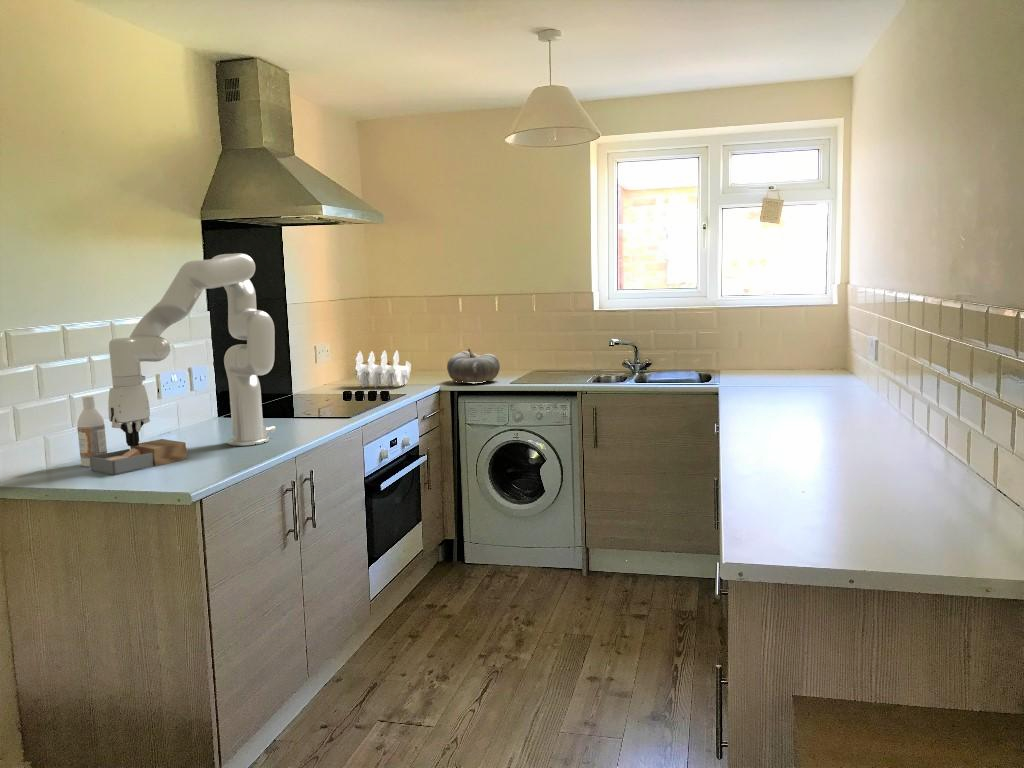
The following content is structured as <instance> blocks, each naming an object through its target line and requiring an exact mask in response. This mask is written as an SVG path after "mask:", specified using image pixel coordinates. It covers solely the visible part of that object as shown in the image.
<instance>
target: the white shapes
mask: <svg viewBox="0 0 1024 768" xmlns="http://www.w3.org/2000/svg"><path fill="white" fill-rule="evenodd" d="M363 356H364V355H363V353H362V351H361V350H359V352H356V358H355V360H354V361H355V368H354V369H355V371H356V380H357V379H358V383H359V384H361V386H362V388H367V387H368V386H369V385H370V384H371V385H373V386H374V389H377V387H378V386H380V387H381V386H382V384H383V383H384V382H385V385H386V387H387V386H388V387H390V385H391V386H393V385H394V384H396V383H397V384H398V387H399V386H401V385H404V384H405V385H407V384H408V381H409V379H410V376H411V375H410V374H411V372H412V371H411V370H412V363H411V362H409V361H408V360H405V365H400V364H399V363H400V354H399V351H398V350H397V349H395V352H394V351H393V356H392V357H393V358H392V362H393V363H392V365H388V354H387V351H386V350H385V349H384V350H382V351H381V356H380V364H375V362H376V358H375V353H374V351H373V350H371V351H370V353H368V359H367V364H363V362H364V357H363ZM405 385H404V386H405ZM401 387H402V386H401Z"/></svg>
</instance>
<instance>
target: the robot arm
mask: <svg viewBox="0 0 1024 768" xmlns="http://www.w3.org/2000/svg"><path fill="white" fill-rule="evenodd" d="M255 272H256V263H255V261H254V259H253V258H252V257H251V256H250V255H248V254H247V253H242V252H240V253H238V252H237V253H224V254H218V255H215V256H213V257H212V258H211V259H199V260H197V259H196V260H190V261H187V262H185V263H183V264H182V266H181V267H180V269H179V270H178V272H177V274H176V275H175V276H174V278H173V280H172V281H171V283H170V285H169V286H168V288H167V290H166V291H165V292H164V294H163V296H162V298H161V299H160V300H159V302H158V303H156V304H155V305H154V306H153V307H151V309H150V310H149V311H147V312H146V313H145V315H143V317H142V318H141V319H140V320H139V321H138V323H137V324H136V326H135V327H134V329H133V331H132V332H131V334H130V335H129V337H120V338H119V337H118V338H113V339H111V340H110V341H109V342H108V352H109V360H110V361H109V362H110V370H111V382H112V383H111V384H112V387H109V392H108V402H107V403H108V404H107V405H108V408H107V411H108V419H109V422H110V423H111V428H112V429H113V428H114V429H120V430H121V431H123V433H125V440H126V441H125V442H126V444H127V446H128V447H130V446H132V447H134V446H139V443H140V433H139V432H140V431H141V428H142V427H143V426H144V425H146V424H148V423H150V422H151V419H150V417H151V410H150V402H149V397H148V392H147V389H146V387H145V385H144V384H143V381H146V376H145V375H142V369H141V362H150V363H151V362H154V363H155V362H161V361H163V360H165V359H167V358H168V356H169V355H170V353H171V345H170V342H169V341H168V340H167V339H165V338H164V337H162V336H161V335H162V334H163V333H164V332H165V331H166V330H167V329H168V328H169V327H171V326H172V325H174V324H176V323H178V322H180V321H181V320H184V319H185V318H186V317H187V316H189V315H190V313H191V311H192V310H193V308H194V306H195V304H196V302H197V301H198V300H199V298H200V296H201V294H202V293H203V291H204V290H205V289H217V288H222V287H223V288H224V290H225V292H226V295H227V305H228V306H227V310H228V311H227V313H228V314H227V328H228V333H229V334H230V335H231V337H232V338H233V339H235V340H236V339H237V340H238V341H239V340H241V341H246V344H244V343H243V344H242V343H241V344H235V345H232V346H230V347H229V348H228V349H227V350H226V352H225V354H224V357H223V363H224V369H225V372H226V377H227V382H228V389H229V390H228V391H229V405H230V416H231V417H230V418H231V428H232V430H231V432H232V437H231V438H230V439H228V440H227V443H228V445H230V446H235V447H236V446H237V447H240V446H241V447H245V446H255V444H256V445H261V444H265V443H267V442H269V441H270V436H269V435H268V434H270V433H271V434H272V433H274V432H276V431H277V428H276V426H274V425H272V426H269V427H267V426H266V425H264V419H263V418H264V417H263V406H262V405H263V404H262V389H261V388H262V387H261V383H260V379H259V377H258V376H264V375H267V374H269V372H271V370H272V369H273V367H274V364H275V350H276V345H275V344H276V343H275V341H276V340H275V339H276V338H275V333H276V331H275V323H274V321H273V319H272V317H271V315H270V314H269V313H267V312H266V311H264V310H262V309H261V310H260V309H257V295H256V289H255V287H254V285H253V282H252V281H251V280H250V279H251V278H252V277H254V275H255V274H256V273H255ZM264 442H265V443H264Z"/></svg>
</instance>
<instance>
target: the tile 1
mask: <svg viewBox="0 0 1024 768" xmlns="http://www.w3.org/2000/svg"><path fill="white" fill-rule="evenodd" d="M138 455H141V453H140V452H139V450H137V449H134V448H133V449H131V448H130V450H129V451H128V452H126V453H125V454H123V455H122V457H126V458H128V457H133V456H138Z"/></svg>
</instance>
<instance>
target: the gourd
mask: <svg viewBox="0 0 1024 768" xmlns="http://www.w3.org/2000/svg"><path fill="white" fill-rule="evenodd" d="M446 365H447V366H446V367H447V368H446V369H447V374H448V376H449V377H450V378H451V380H452V381H454V382H455V381H457V382H462V381H463V382H483V381H489V382H491V381H493V380H494V379H496V378H497V377H498V374H499V372H500V370H501V369H500V367H501V365H500V361H499V359H498V356H497V355H495V354H491V353H485V354H483V355H480V354H477V353H474V352H473V351H471V349H470V348H467V351H466V350H463V351H461V352H459V353H457V354H453V355H452V356H451V357H450V358H449V359H448V361H447V364H446ZM490 380H491V381H490ZM457 382H456V383H457Z"/></svg>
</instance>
